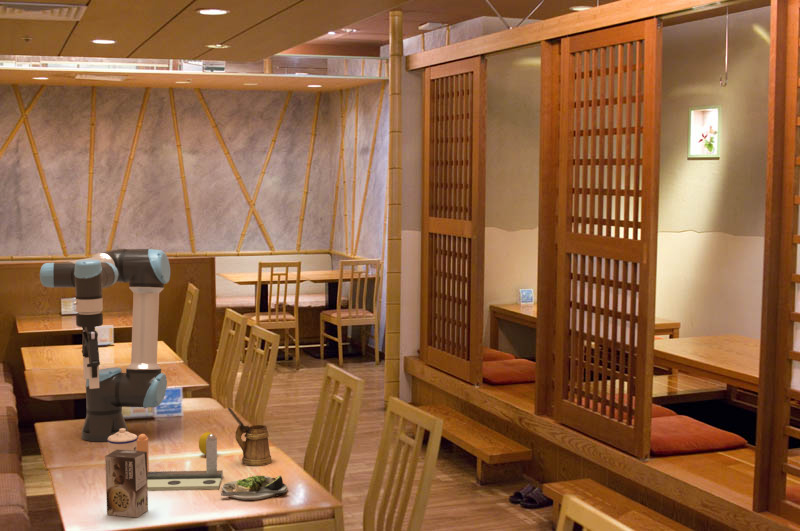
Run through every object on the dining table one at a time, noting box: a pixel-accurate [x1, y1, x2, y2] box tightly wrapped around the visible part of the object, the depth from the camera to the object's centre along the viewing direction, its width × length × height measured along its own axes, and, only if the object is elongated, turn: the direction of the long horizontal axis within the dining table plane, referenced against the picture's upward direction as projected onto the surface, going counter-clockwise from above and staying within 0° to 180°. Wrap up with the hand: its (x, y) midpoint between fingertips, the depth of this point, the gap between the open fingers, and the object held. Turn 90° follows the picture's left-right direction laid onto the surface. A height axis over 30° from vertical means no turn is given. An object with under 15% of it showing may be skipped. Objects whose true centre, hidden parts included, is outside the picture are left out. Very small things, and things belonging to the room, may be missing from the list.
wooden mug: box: [227, 407, 273, 467], centre depth 299 cm, size 9×14×18 cm, turn 106°
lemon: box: [198, 431, 213, 456], centre depth 307 cm, size 6×6×8 cm
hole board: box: [147, 478, 222, 492], centre depth 276 cm, size 7×25×1 cm, turn 95°
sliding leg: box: [137, 433, 150, 473], centre depth 281 cm, size 3×3×12 cm
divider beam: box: [147, 433, 224, 481], centre depth 282 cm, size 3×27×14 cm, turn 95°
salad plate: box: [220, 474, 288, 501], centre depth 271 cm, size 19×18×5 cm
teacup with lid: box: [106, 428, 139, 455], centre depth 296 cm, size 12×9×12 cm
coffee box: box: [104, 450, 149, 518], centre depth 253 cm, size 9×6×16 cm
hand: (91, 383), depth 284 cm, fingers open, 13 cm apart
